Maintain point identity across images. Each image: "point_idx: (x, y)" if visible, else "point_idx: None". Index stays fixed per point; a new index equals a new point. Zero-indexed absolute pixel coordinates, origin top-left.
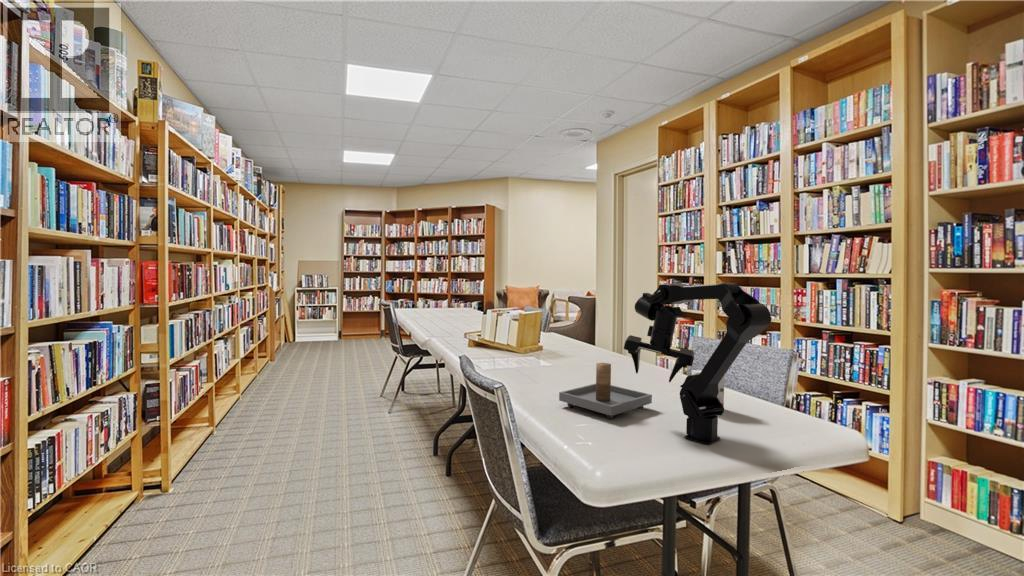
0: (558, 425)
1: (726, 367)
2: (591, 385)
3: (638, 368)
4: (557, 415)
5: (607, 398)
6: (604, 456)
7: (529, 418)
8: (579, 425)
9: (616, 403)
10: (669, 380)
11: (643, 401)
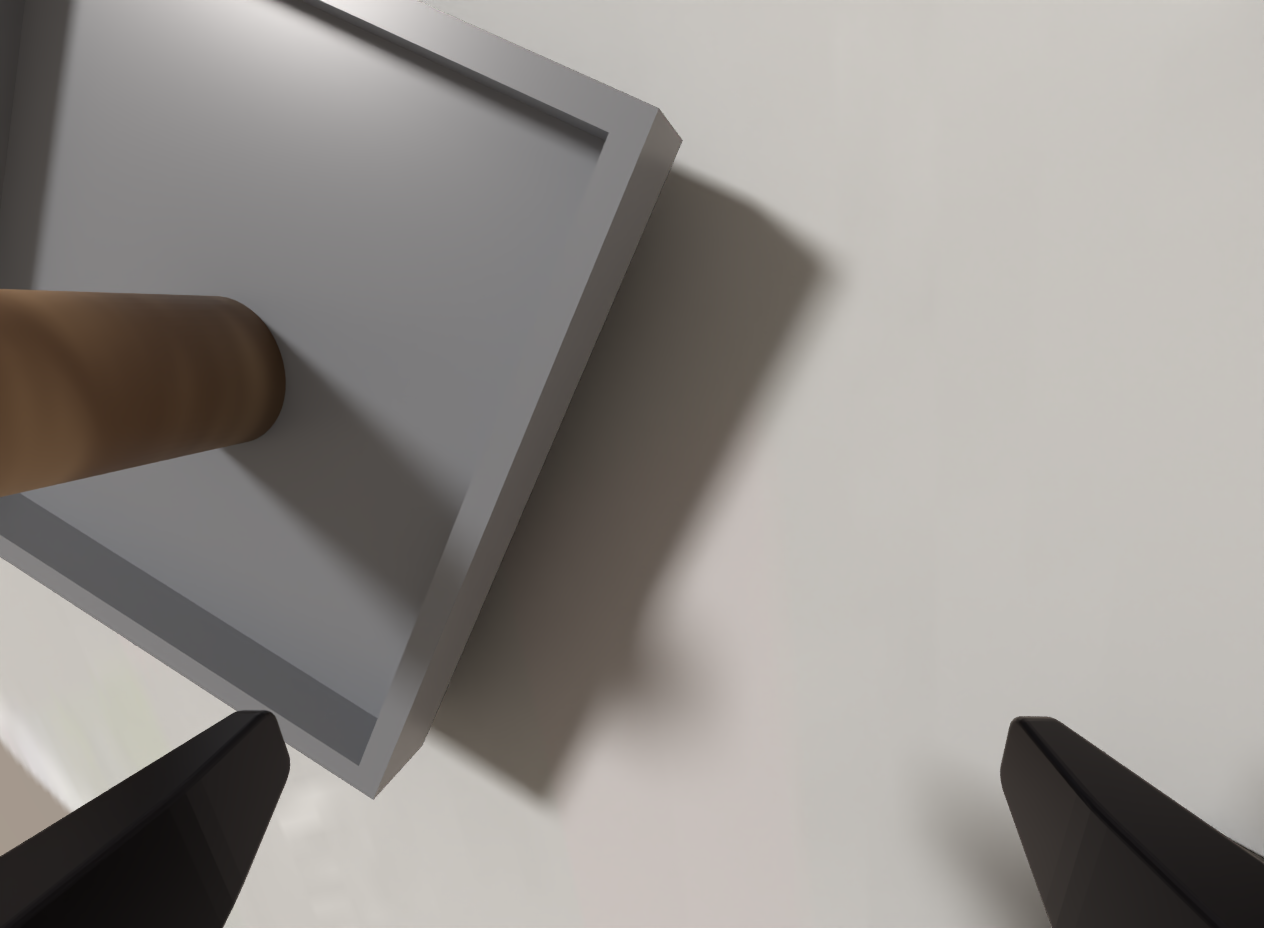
0: None
1: None
2: None
3: (205, 865)
4: (119, 667)
5: (249, 424)
6: None
7: (36, 767)
8: (298, 825)
9: (362, 451)
10: (1033, 849)
11: (593, 311)
